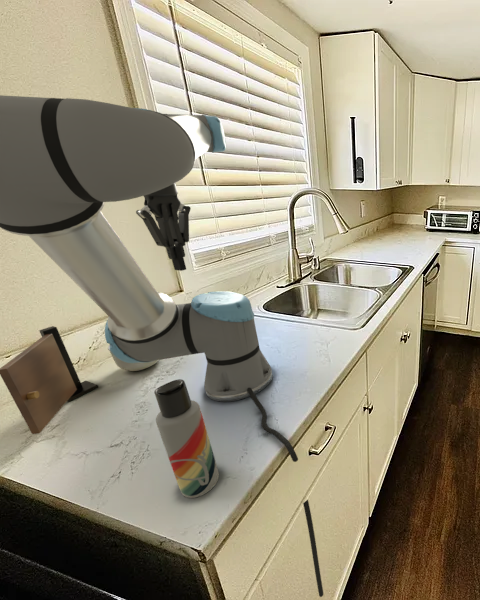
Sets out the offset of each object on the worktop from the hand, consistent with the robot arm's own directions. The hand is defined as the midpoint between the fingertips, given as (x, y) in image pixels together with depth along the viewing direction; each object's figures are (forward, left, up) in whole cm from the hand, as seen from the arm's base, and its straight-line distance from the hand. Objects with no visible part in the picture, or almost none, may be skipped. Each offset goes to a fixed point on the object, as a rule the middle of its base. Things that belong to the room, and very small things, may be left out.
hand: (180, 269), depth 91 cm
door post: (-2, +28, -24) cm, 37 cm away
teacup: (+1, +13, -20) cm, 24 cm away
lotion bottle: (-52, +17, -25) cm, 60 cm away
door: (-10, +31, -23) cm, 40 cm away
